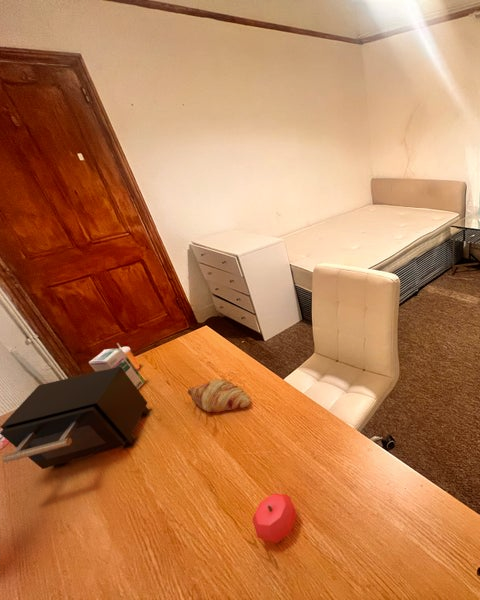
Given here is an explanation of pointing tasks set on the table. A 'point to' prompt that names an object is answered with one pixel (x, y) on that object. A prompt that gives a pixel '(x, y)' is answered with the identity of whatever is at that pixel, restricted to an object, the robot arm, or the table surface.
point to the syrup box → (117, 364)
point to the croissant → (219, 396)
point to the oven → (87, 401)
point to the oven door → (62, 438)
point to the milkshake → (129, 355)
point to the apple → (274, 518)
